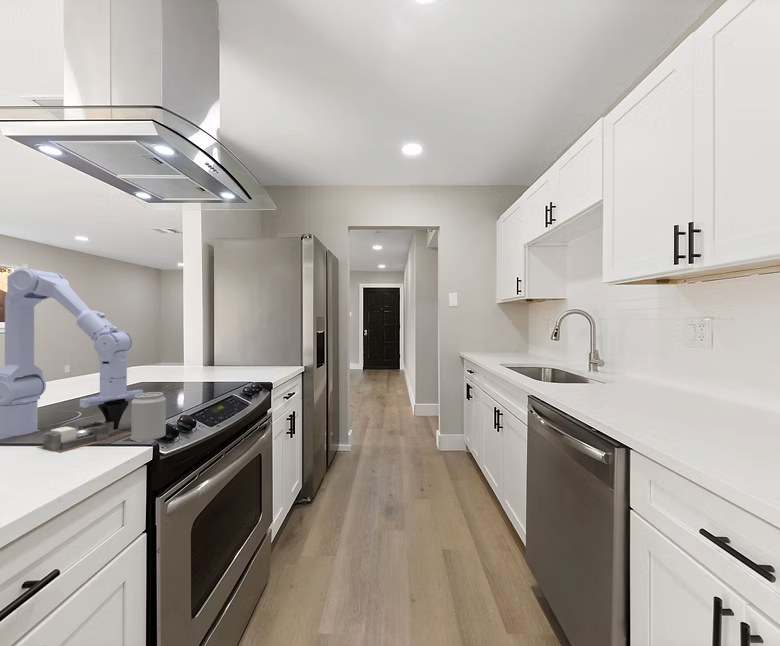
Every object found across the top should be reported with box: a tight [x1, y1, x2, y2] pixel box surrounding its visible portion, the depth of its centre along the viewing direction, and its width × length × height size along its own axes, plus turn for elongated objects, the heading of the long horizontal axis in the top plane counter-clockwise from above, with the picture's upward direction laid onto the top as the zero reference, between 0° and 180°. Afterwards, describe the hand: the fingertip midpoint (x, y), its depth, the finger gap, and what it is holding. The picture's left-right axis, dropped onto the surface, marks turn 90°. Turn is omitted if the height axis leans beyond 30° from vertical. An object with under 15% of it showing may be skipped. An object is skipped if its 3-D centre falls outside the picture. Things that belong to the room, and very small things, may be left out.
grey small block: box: [76, 419, 114, 439], centre depth 93 cm, size 4×8×3 cm, turn 159°
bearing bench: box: [36, 422, 131, 454], centre depth 92 cm, size 9×16×4 cm, turn 159°
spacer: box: [50, 426, 77, 443], centre depth 87 cm, size 4×3×4 cm
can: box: [130, 391, 167, 442], centre depth 95 cm, size 8×8×12 cm
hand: (113, 429), depth 98 cm, fingers closed
